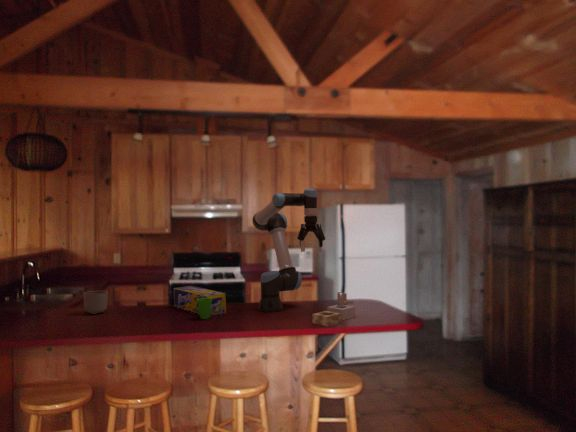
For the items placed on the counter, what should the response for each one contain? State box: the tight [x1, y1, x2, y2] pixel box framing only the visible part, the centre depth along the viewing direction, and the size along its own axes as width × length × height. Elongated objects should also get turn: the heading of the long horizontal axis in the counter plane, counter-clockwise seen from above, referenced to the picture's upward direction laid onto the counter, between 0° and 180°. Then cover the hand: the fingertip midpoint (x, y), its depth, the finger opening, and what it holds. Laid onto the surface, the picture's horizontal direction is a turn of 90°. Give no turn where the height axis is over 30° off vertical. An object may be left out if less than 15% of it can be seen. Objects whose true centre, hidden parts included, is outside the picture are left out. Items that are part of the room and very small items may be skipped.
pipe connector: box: [344, 292, 354, 305], centre depth 272 cm, size 10×10×10 cm
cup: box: [196, 298, 212, 320], centre depth 255 cm, size 9×9×11 cm
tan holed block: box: [326, 304, 356, 321], centre depth 253 cm, size 11×11×6 cm
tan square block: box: [311, 310, 343, 328], centre depth 240 cm, size 11×11×5 cm
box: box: [173, 285, 227, 317], centre depth 278 cm, size 40×14×13 cm, turn 43°
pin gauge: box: [336, 291, 345, 308], centre depth 253 cm, size 4×4×14 cm
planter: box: [82, 290, 109, 314], centre depth 273 cm, size 14×14×13 cm
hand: (311, 252), depth 259 cm, fingers open, 13 cm apart
